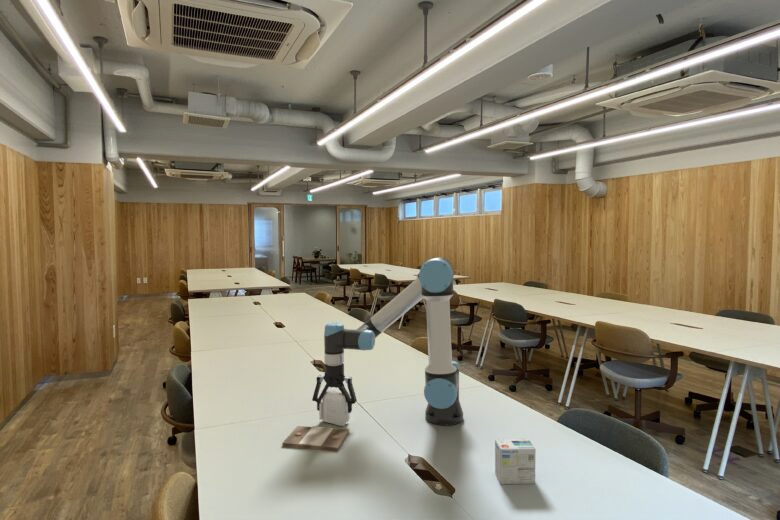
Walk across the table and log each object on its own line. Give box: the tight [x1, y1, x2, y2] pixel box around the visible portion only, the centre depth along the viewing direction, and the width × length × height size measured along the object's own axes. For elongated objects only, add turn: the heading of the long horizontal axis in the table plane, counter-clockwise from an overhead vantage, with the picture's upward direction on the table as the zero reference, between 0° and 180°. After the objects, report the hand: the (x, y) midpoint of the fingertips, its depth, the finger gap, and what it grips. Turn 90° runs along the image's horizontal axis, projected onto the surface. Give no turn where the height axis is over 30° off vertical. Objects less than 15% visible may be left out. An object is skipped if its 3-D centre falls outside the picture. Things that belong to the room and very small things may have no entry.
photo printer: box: [321, 390, 347, 427], centre depth 171 cm, size 10×4×12 cm, turn 61°
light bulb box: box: [494, 438, 536, 485], centre depth 131 cm, size 11×7×11 cm, turn 92°
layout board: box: [281, 425, 350, 452], centre depth 156 cm, size 20×14×2 cm
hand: (334, 419), depth 171 cm, fingers closed on photo printer, 10 cm apart
